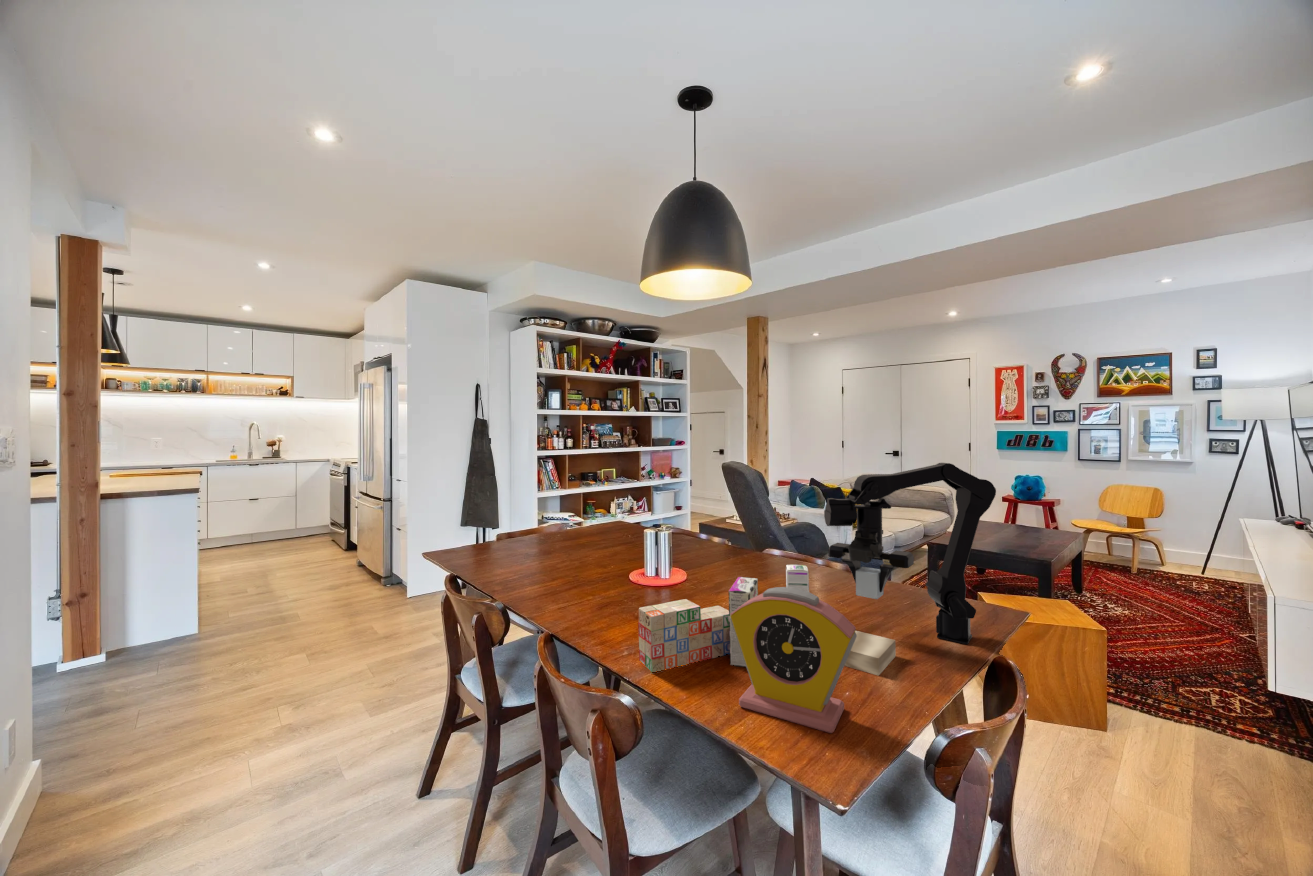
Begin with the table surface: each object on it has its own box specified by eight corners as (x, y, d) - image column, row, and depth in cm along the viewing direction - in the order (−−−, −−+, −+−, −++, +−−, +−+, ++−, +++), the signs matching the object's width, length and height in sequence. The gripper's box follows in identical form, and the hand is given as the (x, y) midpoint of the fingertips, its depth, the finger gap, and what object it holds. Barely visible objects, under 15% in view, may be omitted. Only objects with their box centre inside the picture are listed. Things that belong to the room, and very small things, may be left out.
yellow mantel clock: (724, 703, 93) (724, 587, 93) (743, 682, 101) (742, 575, 101) (850, 740, 82) (849, 607, 81) (860, 713, 89) (859, 592, 89)
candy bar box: (737, 645, 119) (737, 576, 119) (759, 648, 117) (758, 578, 117) (728, 665, 108) (727, 589, 108) (751, 669, 107) (751, 592, 107)
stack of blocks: (719, 644, 120) (719, 592, 120) (735, 653, 115) (734, 599, 115) (638, 663, 110) (638, 606, 110) (651, 674, 105) (650, 615, 105)
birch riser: (895, 658, 113) (895, 640, 113) (878, 677, 103) (878, 658, 103) (841, 644, 120) (841, 627, 120) (821, 661, 111) (821, 643, 111)
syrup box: (810, 626, 131) (810, 570, 131) (786, 624, 132) (786, 569, 132) (808, 618, 136) (808, 564, 136) (785, 617, 137) (785, 563, 137)
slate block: (883, 594, 124) (883, 570, 124) (877, 599, 120) (877, 574, 120) (862, 590, 127) (862, 566, 127) (855, 595, 124) (855, 570, 124)
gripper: (819, 526, 124) (819, 590, 124) (900, 536, 112) (901, 606, 112) (836, 520, 132) (836, 580, 132) (914, 528, 120) (914, 594, 120)
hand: (869, 589), depth 124 cm, fingers closed on slate block, 5 cm apart
